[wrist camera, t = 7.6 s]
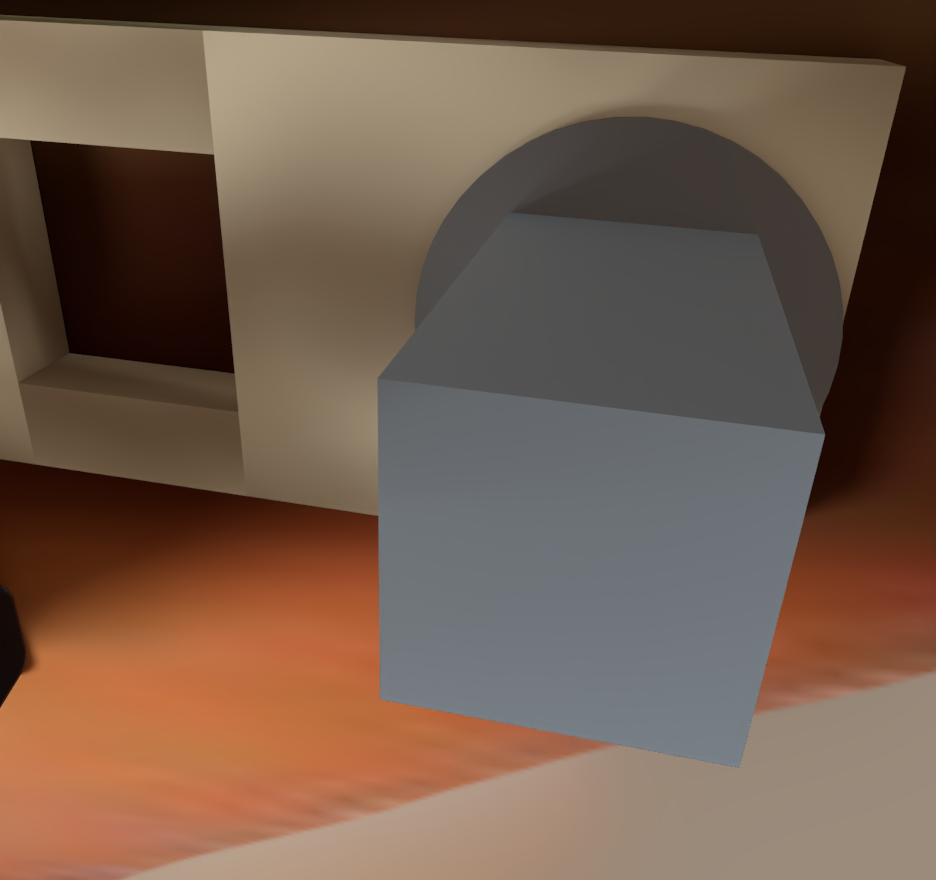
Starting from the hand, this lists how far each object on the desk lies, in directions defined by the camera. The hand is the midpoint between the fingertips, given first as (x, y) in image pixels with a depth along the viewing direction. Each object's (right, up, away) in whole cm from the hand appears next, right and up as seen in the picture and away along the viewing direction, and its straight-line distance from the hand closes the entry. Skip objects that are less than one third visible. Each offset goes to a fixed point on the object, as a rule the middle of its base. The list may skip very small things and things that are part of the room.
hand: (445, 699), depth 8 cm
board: (-2, +6, +12) cm, 13 cm away
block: (+3, +4, +8) cm, 10 cm away
